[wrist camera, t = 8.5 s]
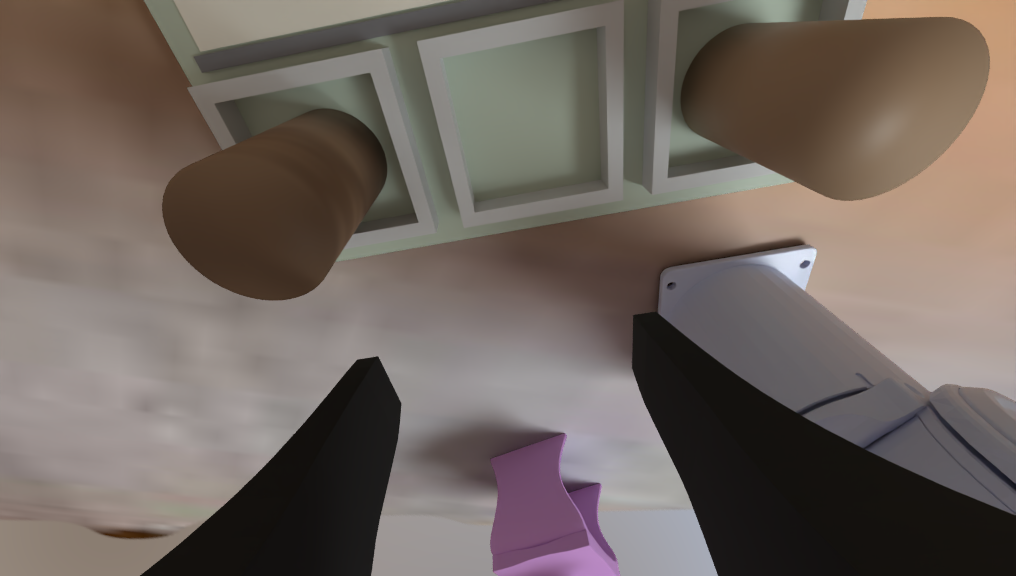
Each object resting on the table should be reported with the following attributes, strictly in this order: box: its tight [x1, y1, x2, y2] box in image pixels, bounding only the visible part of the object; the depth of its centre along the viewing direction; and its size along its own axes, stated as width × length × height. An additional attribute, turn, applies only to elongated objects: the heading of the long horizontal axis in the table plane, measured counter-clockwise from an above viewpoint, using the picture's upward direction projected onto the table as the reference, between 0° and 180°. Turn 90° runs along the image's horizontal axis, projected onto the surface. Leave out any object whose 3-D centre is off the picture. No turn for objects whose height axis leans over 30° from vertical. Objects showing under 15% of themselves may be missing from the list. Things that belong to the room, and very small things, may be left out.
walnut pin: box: [162, 109, 387, 300], centre depth 13 cm, size 4×4×7 cm
